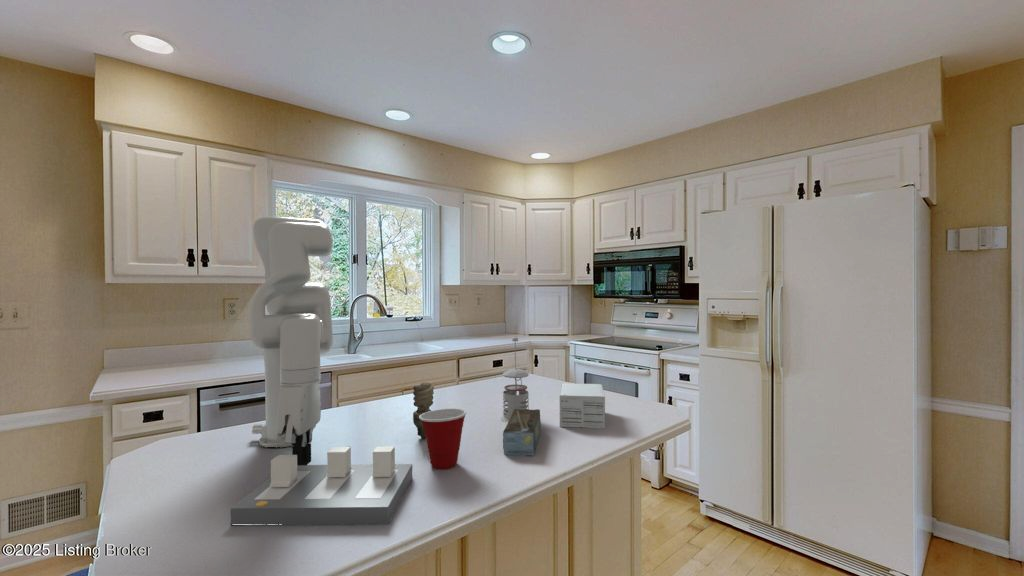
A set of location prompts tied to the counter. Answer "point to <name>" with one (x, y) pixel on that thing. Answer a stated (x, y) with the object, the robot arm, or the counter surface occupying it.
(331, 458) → the block
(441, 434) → the plastic cup
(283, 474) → the breaker left
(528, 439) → the beverage carton
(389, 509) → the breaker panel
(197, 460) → the counter surface
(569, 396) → the supplement box
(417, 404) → the light bulb
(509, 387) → the french press
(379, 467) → the block
